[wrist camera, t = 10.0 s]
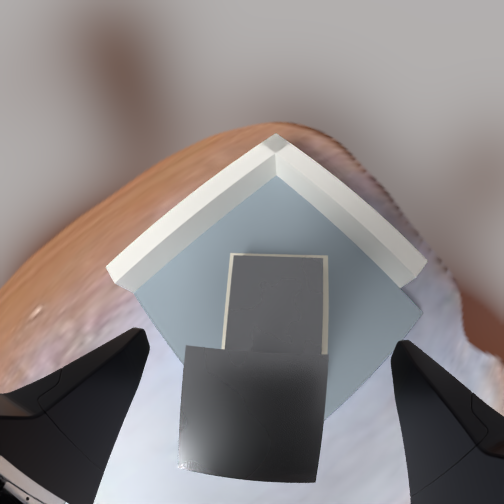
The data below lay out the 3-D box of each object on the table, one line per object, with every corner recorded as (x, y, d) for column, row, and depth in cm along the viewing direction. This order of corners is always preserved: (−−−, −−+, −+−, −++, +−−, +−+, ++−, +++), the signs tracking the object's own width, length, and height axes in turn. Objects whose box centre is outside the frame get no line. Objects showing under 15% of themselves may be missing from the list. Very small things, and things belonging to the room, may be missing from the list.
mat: (271, 459, 14) (271, 461, 13) (135, 294, 19) (133, 292, 19) (420, 313, 16) (423, 312, 16) (276, 178, 21) (276, 174, 21)
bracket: (315, 399, 15) (380, 476, 4) (224, 394, 15) (121, 450, 4) (320, 264, 18) (366, 126, 7) (236, 261, 19) (176, 127, 8)
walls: (246, 434, 15) (239, 448, 12) (126, 279, 19) (105, 266, 17) (409, 275, 17) (428, 261, 15) (277, 158, 22) (275, 133, 19)
